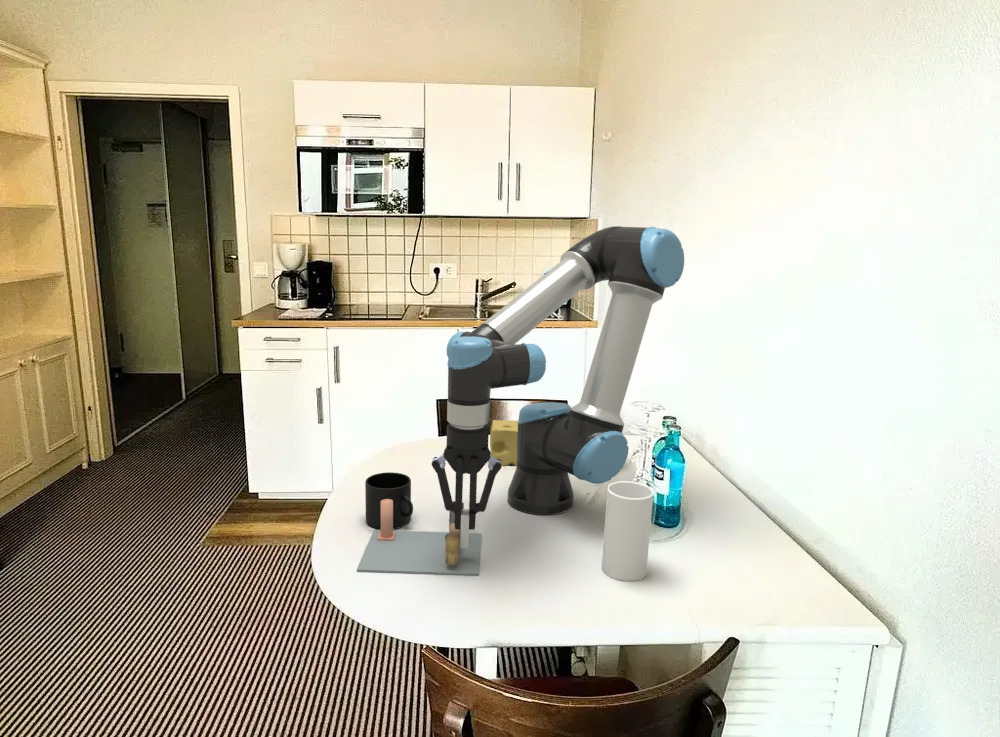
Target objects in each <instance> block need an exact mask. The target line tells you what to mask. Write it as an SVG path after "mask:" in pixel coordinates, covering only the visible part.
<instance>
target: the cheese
mask: <svg viewBox="0 0 1000 737" xmlns="http://www.w3.org/2000/svg"><path fill="white" fill-rule="evenodd" d="M518 421H519V420H501V419H500V420H499V419H497V420H496V419H493V420H492V422H491V425H490V426H491V427H490V433H489V446H490V447H489V449H490V453H491V456H492V457H494V458H495V459H500V460H501V463H502V467H503V466H509V465H514V466H515V467H517V438H518Z"/></svg>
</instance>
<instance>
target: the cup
mask: <svg viewBox="0 0 1000 737" xmlns="http://www.w3.org/2000/svg"><path fill="white" fill-rule="evenodd" d="M653 500H654V490H653V489H652V487H650V486H649V485H647V484H644V483H640V482H637V481H630V480H619V481H613V482H611V483H609V484H608V485H607V490H606V504H605V518H604V527H603V528H604V530H603V543H602V556H601V557H602V559H601V570H602V572H603V573H604V574H605V575H606V576H608V577H610V578H612V579H614V580H618V581H622V582H636V581H639V580H642V579H644V578H645V576H646V575H647V569H648V558H649V556H648V555H649V546H650V545H649V544H650V537H651V536H650V535H651V534H650V533H651V523H652V514H653V502H654V501H653Z"/></svg>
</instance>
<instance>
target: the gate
mask: <svg viewBox="0 0 1000 737" xmlns="http://www.w3.org/2000/svg"><path fill="white" fill-rule="evenodd" d="M448 532H449V537H447V538H446V551H445V563H446V564H448V565H456V564H457V563H458V558H459V542H460V530H459V529H455V523H451V526H450V531H449V530H448Z"/></svg>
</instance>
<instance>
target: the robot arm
mask: <svg viewBox="0 0 1000 737" xmlns="http://www.w3.org/2000/svg"><path fill="white" fill-rule="evenodd" d="M684 267H685V252H684V248H683V247H682V242H681V241H680V239H679V237H678V236H677V235H676V234H675V232H673V231H672V230H669V229H668V228H667V229H666V228H657V227H655V226H649V227H640V226H639V227H638V226H617V225H616V226H608V227H605V228H601V229H599V230H597V231H595V232H593V233H591V234H589V235H588V236H586V237H584V238H583V239H581V240H580V241H578V242H577V243H576V244H574V245H572V246H571V247H570V248H569V249H568V250H566V251H564V252H563V253H562V255H561V256H560V259H559V263H557V264H556V265H555V266H553V267H552V268H550V270H548V271H547V272H546V273H545V274H543V275H542V276H540V277H539V278H538V279H537V280H536V281H535V282H533V283H532V284H531V285H529V286H528V287H527V288H525V289H524V290H523V291H522V292H520V293H518V295H517V296H516V297H514V298H513V299H512V300H510V301H509V302H507V304H505V305H504V306H503V307H502V308H500V309H499V310H498V311H497V312H495V313H494V314H492V316H490V317H489V318H488V319H486V320H485V321H484V322H482V323H481V324H479V326H477V327H476V328H474V329H473V330H472V331H471V332H470V331H458V332H456V333H455V334H453V335H452V336H451V337H450V338H449V341H448V342H447V345H446V356H447V358H448V360H447V368H448V369H447V377H448V378H447V402H446V403H447V406H446V410H447V411H446V413H447V414H446V421H447V422H448V424H447V425H446V447H445V448H444V450H443V454H441V455H439V456H434V457H433V458H432V462H431V466H432V468H433V470H434V472H435V473H436V474H437V478H438V480H437V481H438V484H439V487H440V488H439V489H440V492H441V497H442V501H443V504H444V505H443V506H444V509H445V510H446V511H447V512H448V511H453V512H454V513H455V529H459V530H461V534H460V548H468V544H469V533H470V531H474V530H475V529H476V515H477V513H480V512H481V513H482V512H485V511H486V509H487V505H488V502H489V500H490V499H489V498H490V495H491V492H492V488H493V485H494V482H495V479H496V476H497V474H499V472H500V471H501V470H502V467H503V466H502V463H501V460H500V459H495V458H494V457H492V456H491V449H490V447H489V437H490V433H489V430H490V428H489V425H488V423H490V422H489V421H490V405H491V404H490V403H491V389H494V390H495V389H500V388H505V387H506V388H507V387H513V386H514V387H516V386H526V385H528V384H529V385H530V384H533V383H536V382H539V381H541V380H542V379H543V377H544V375H545V374H546V368H547V365H546V364H547V359H546V356H545V353H544V351H543V349H542V347H540V346H539V345H538V344H535V343H525V342H522V343H520V344H519V343H518V342H520V341H521V340H522V339H523V338H524V337H525V336H527V335H528V334H530V332H531V331H533V330H534V329H535V328H536V327H537V326H539V325H540V324H541V323H543V322H544V321H545V320H546V319H547V318H549V317H550V316H551V315H552V314H554V313H555V312H556V311H557V310H558V309H559V308H561V307H562V306H563V305H564V304H566V303H567V302H568V301H569V300H570V299H572V298H573V297H574V296H575V295H577V293H579V292H580V291H581V290H589V289H591V288H592V287H594V286H595V284H597V283H601V282H604V281H608V283H607V285H608V287H609V289H610V291H611V297H610V301H609V305H608V308H607V311H606V314H605V318H604V321H603V324H602V327H601V331H600V334H599V337H598V341H597V344H596V348H595V351H594V353H593V354H594V355H593V358H592V361H591V363H590V368H589V371H588V374H587V378H586V381H585V385H584V388H583V391H582V394H581V396H580V397H581V399H580V401H579V402H578V403H577V404H575V405H573V406H571V405H569V404H568V403H563V402H556V401H555V402H550V401H549V402H548V401H547V402H534V403H530V404H526V405H524V406H523V407H522V408H521V409H520V410H519V413H518V420H517V421H518V438H517V466H516V468H515V471H514V473H513V476H512V479H511V481H510V484H509V487H508V490H507V502H508V504H509V505H510V506H511V507H512V508H514V509H516V510H519V511H521V512H524V513H527V514H532V515H543V516H546V515H548V516H549V515H557V514H558V515H559V514H561V513H564V512H567V511H568V510H570V509H571V508H572V507H573V506H574V496H575V495H574V490H573V487H572V483H571V479H570V475H573V476H574V477H575V478H577V479H578V480H580V481H586V482H588V483H591V484H594V485H595V484H596V485H597V484H598V485H600V484H604V483H607V482H609V481H610V480H612V479H613V478H614V477H616V476H617V475H618V474H619V473H620V472H621V470H622V469H623V468H624V465H625V464H626V461H627V459H628V457H629V455H628V454H629V449H630V448H629V445H628V443H629V442H628V439H627V438H626V436H625V435H624V433H623V430H624V427H625V423H624V421H623V418H622V417H621V411H622V407H623V404H624V400H625V397H626V394H627V391H628V387H629V385H630V381H631V377H632V374H633V372H634V371H633V370H634V367H635V364H636V360H637V357H638V354H639V351H640V347H641V344H642V341H643V338H644V334H645V331H646V327H647V324H648V320H649V316H650V314H651V311H652V307H653V305H654V304H655V303H657V302H659V301H661V300H662V299H663V296H664V293H665V290H666V289H667V288H670V287H674V285H676V283H677V282H678V281H680V280H681V277H682V274H683V272H684ZM446 462H447V464H448V465H449V467H450V468H451V470H453V472H455V487H454V488H455V489H454V490H455V492H454V495H455V496H454V501H455V502H453V497H452V494H451V490H450V489H451V488H450V486H449V481H448V476H447V473H446V472H447V471H446V469H445V468H446ZM487 463H488V464H487ZM485 465H487V468H488V473H487V477H486V479H485V483H484V486H483V489H482V493H481V496H480V500H479V502H477V490H478V489H477V488H478V487H477V485H478V481H477V480H478V473H479V472H480V471H481V470H482V469H483V468H484V467H485ZM465 474H467V475H469V495H468V496H469V499H468V501H469V502H468V505H469V506H468V508H467V509H465V508H464V509H462V502H463V488H464V487H463V486H464V475H465ZM569 474H570V475H569Z"/></svg>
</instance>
